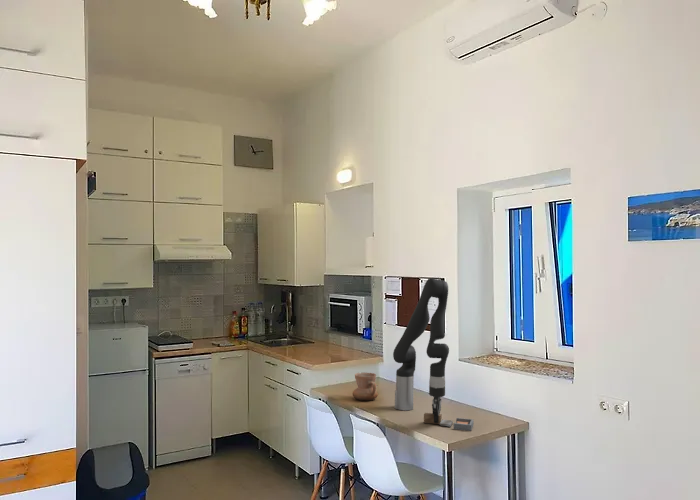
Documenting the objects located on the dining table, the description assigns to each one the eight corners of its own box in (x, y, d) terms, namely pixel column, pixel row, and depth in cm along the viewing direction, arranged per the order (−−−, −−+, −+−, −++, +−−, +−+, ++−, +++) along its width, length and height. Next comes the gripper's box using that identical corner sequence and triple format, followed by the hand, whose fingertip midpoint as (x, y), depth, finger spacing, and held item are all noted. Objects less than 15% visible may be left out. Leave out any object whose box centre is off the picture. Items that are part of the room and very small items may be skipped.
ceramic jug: (346, 397, 312) (346, 372, 313) (367, 395, 320) (367, 370, 321) (363, 404, 297) (363, 378, 298) (385, 401, 305) (385, 375, 305)
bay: (453, 429, 252) (453, 423, 252) (456, 422, 263) (456, 417, 263) (471, 430, 250) (471, 425, 250) (473, 424, 260) (473, 419, 260)
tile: (456, 428, 255) (456, 424, 255) (457, 425, 260) (457, 421, 260) (467, 429, 253) (467, 425, 253) (468, 426, 258) (468, 422, 258)
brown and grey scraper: (422, 423, 259) (423, 415, 259) (425, 419, 265) (425, 411, 266) (450, 426, 255) (450, 417, 255) (452, 422, 261) (452, 414, 262)
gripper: (431, 382, 269) (431, 417, 268) (426, 387, 256) (426, 425, 255) (447, 383, 266) (446, 419, 266) (442, 389, 253) (442, 426, 252)
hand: (436, 422), depth 260 cm, fingers closed on brown and grey scraper, 2 cm apart
